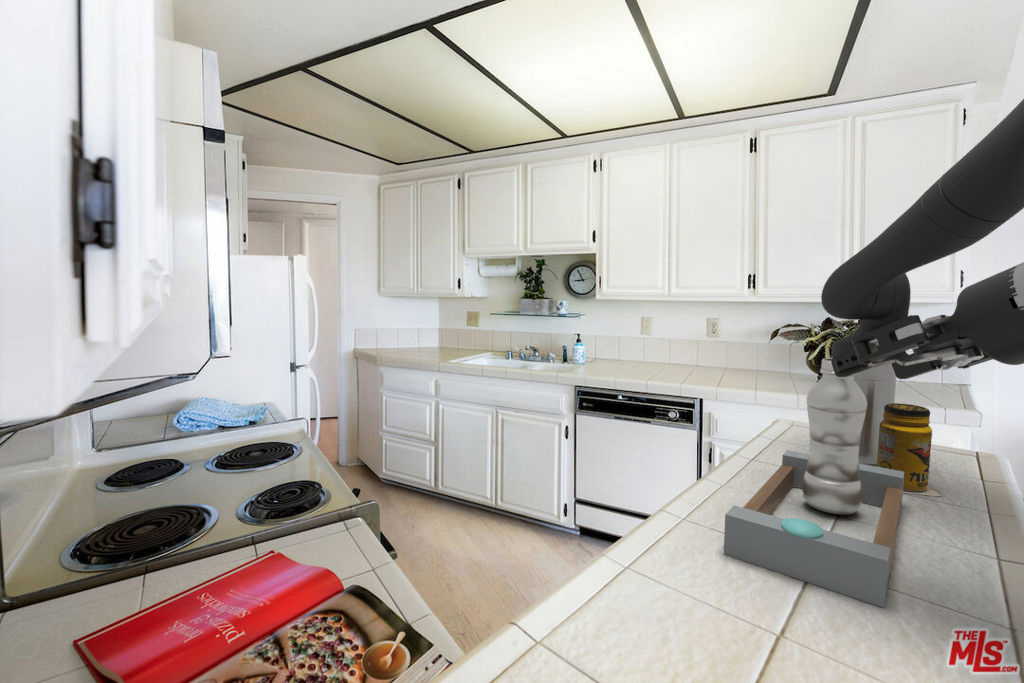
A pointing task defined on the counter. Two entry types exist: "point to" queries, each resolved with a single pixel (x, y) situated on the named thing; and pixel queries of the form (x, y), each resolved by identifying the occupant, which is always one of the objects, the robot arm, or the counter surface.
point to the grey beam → (870, 476)
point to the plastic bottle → (834, 443)
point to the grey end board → (809, 553)
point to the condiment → (906, 445)
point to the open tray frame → (783, 482)
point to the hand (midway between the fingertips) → (866, 369)
